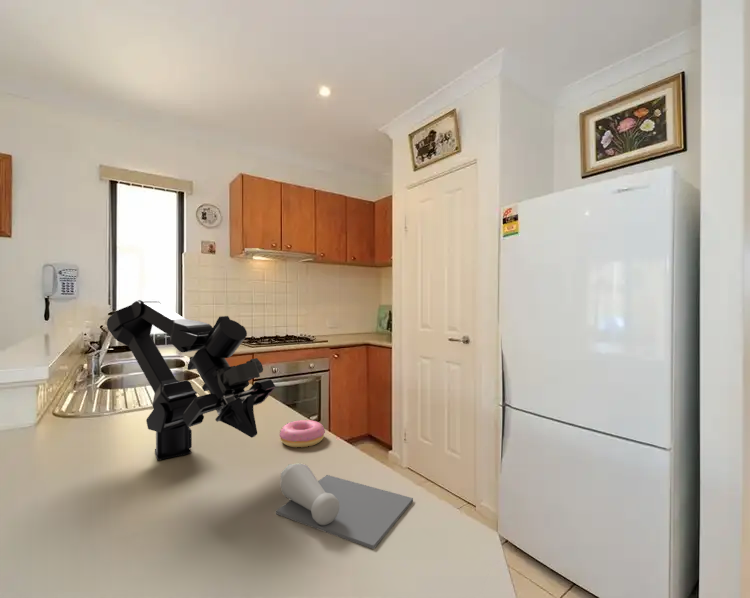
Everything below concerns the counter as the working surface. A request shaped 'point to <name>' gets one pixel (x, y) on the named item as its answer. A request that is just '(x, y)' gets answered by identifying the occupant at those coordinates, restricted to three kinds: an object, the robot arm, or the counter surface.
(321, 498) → the salt shaker
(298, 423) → the doughnut
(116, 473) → the counter surface
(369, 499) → the mat
